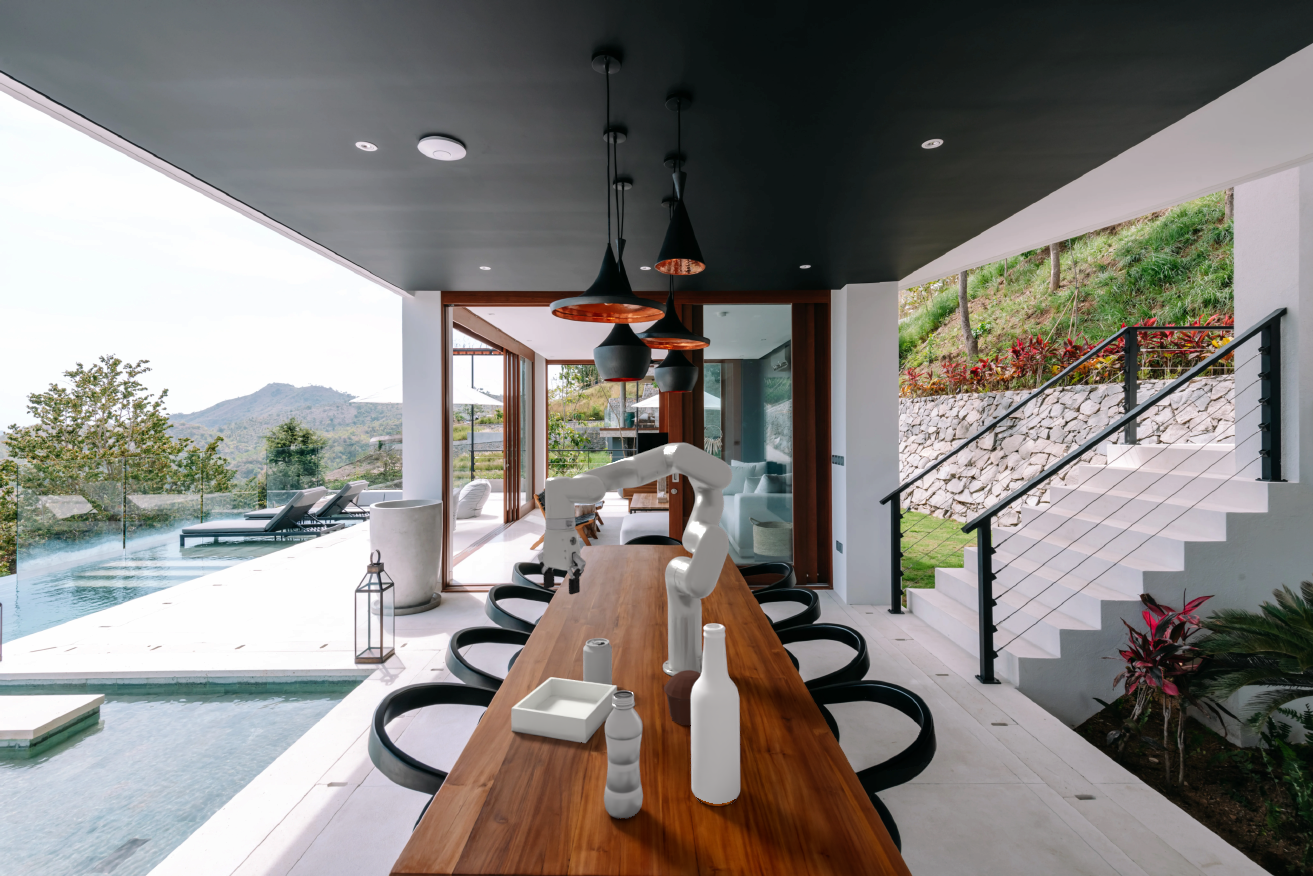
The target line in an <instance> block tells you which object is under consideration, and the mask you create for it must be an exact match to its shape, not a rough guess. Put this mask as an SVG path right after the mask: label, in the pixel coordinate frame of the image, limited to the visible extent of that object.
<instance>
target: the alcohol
mask: <svg viewBox="0 0 1313 876" xmlns="http://www.w3.org/2000/svg"><path fill="white" fill-rule="evenodd" d="M702 627H703V628H702V629H703V634H702V636H703V647H702V652H703V662H702V672H701V676H700V677H699V679H698V680H697V681H696V682H695V684H694V685H693V688H692V692H691V726H690V754H691V755H690V758H691V759H690V762H691V764H690V766H691V767H690V768H691V771H690V774H691V782H690V783H691V785H690V786H691V791H692V793H693V795H694V796H695V798H696V797H697V798H699V799H701V800H703V801H706V802H709V803H713V804H722V803H727V802H730V801H732V800H734V799H736V800H737V798H738V797H739V796H740V792H741V745H740V744H741V736H740V735H741V734H740V731H741V726H740V722H741V721H740V695H739V691H738V687H737V685H736V684H735V683H734V681H733V680H732V679H731V678H730V676H729V671H728V662H727V651H726V649H727V648H726V632H725V631H726V627H725V626H724V625H723V624H720V623H707V624H705V625H704V626H702ZM697 798H696V799H697Z"/></svg>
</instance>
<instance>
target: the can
mask: <svg viewBox="0 0 1313 876" xmlns="http://www.w3.org/2000/svg"><path fill="white" fill-rule="evenodd" d="M612 647H613V646H612V645H611V644H610V640H609V639H608V638H604V637H603V638H602V637H595V638H590V639H588V640H586V642H585V645H584V646H583V647H582V648H583V649H582V651H583V652H582V656H583V657H582V659H583V660H582V662H583V664H582V666H583V667H582V669H583V670H582V671H583V675H582V676H583V677H582V678H583V680H582V681H585V682H593V683H600V684H608V685H613V648H612Z"/></svg>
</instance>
